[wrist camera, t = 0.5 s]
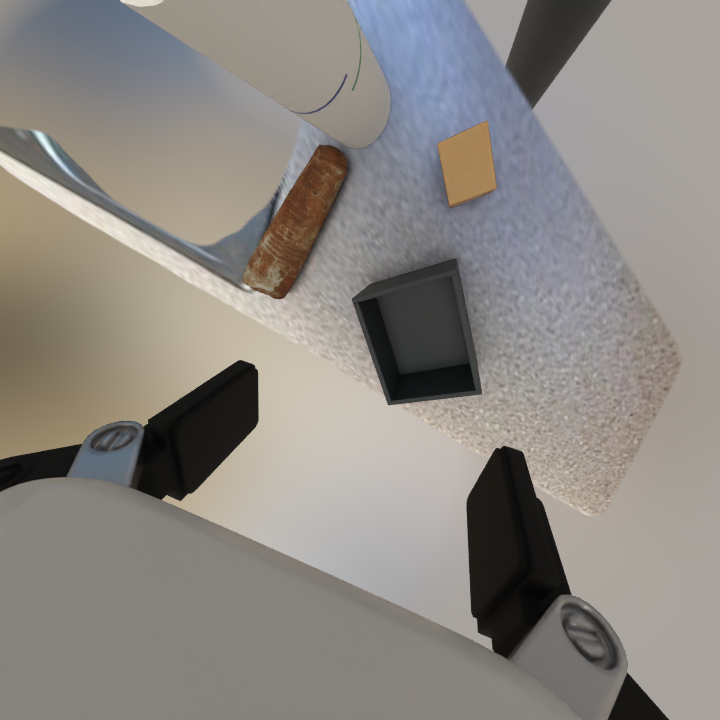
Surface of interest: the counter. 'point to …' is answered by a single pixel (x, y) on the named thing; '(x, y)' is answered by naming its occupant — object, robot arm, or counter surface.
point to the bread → (296, 224)
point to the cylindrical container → (289, 57)
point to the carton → (468, 165)
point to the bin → (420, 335)
